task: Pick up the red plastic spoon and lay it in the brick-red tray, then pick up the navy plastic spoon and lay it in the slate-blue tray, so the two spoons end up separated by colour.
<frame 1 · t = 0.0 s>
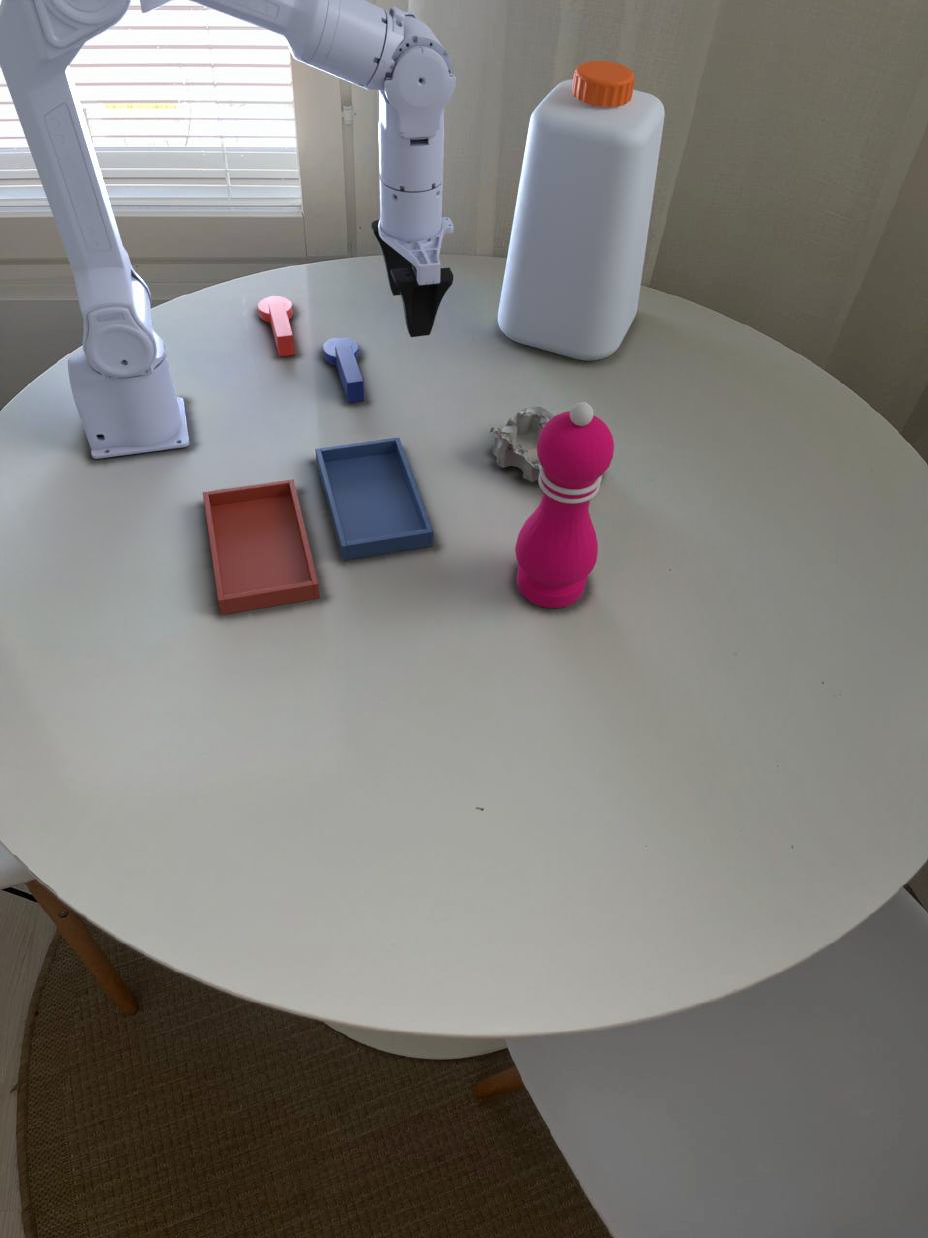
hand: (410, 313, 92), 10 cm above the table, tool pointing down, fingers open, 7 cm apart
red tray: (260, 550, 84), on the table
red spoon: (280, 331, 107), on the table
plastic bottle: (566, 324, 111), on the table
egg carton: (544, 464, 94), on the table
blue tray: (372, 503, 89), on the table
pepper mill: (550, 584, 83), on the table
blue spoon: (347, 375, 102), on the table
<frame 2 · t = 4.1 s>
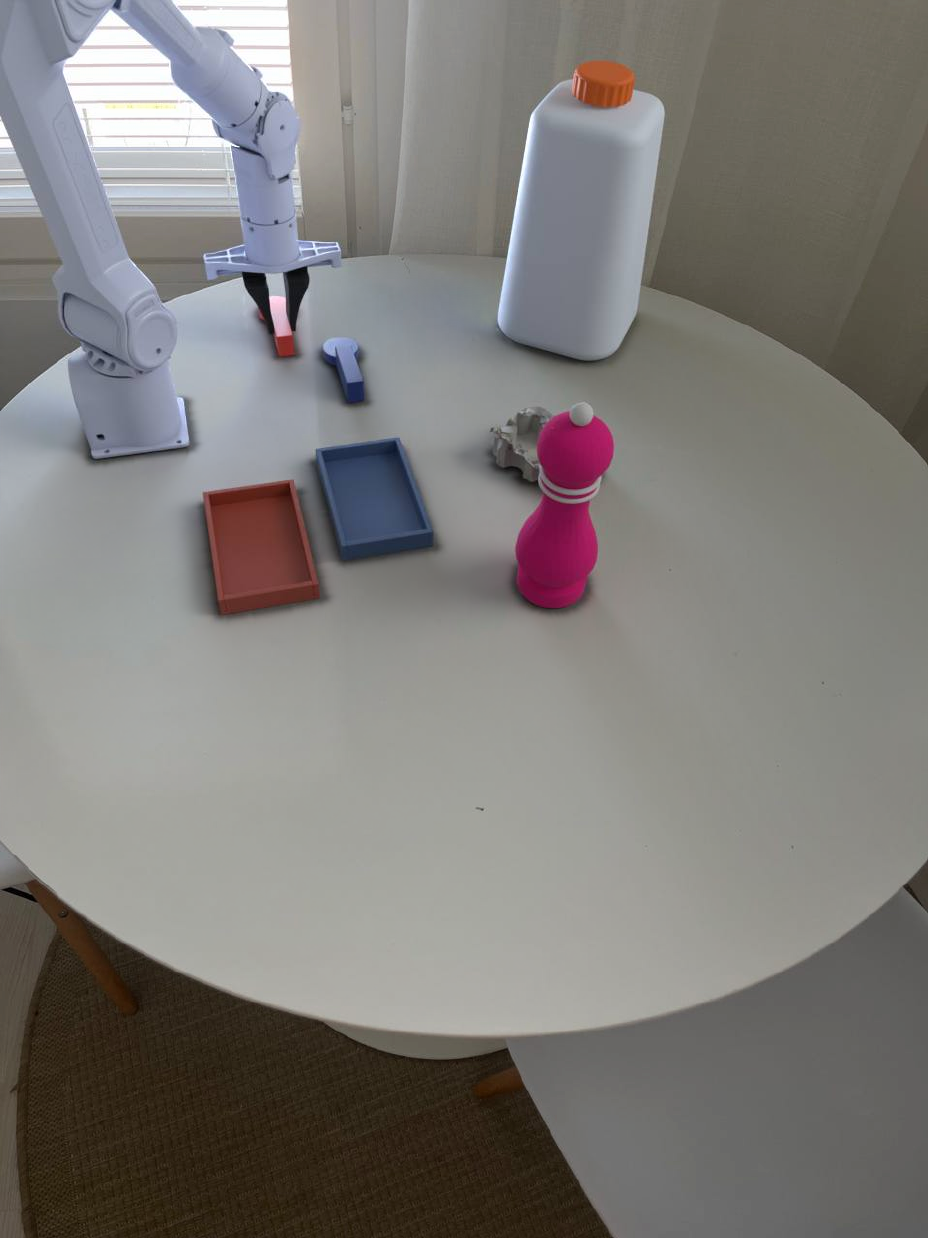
hand: (281, 327, 105), 1 cm above the table, tool pointing down, fingers closed on red spoon, 2 cm apart
red spoon: (280, 331, 107), on the table, touching gripper
everything else where it was.
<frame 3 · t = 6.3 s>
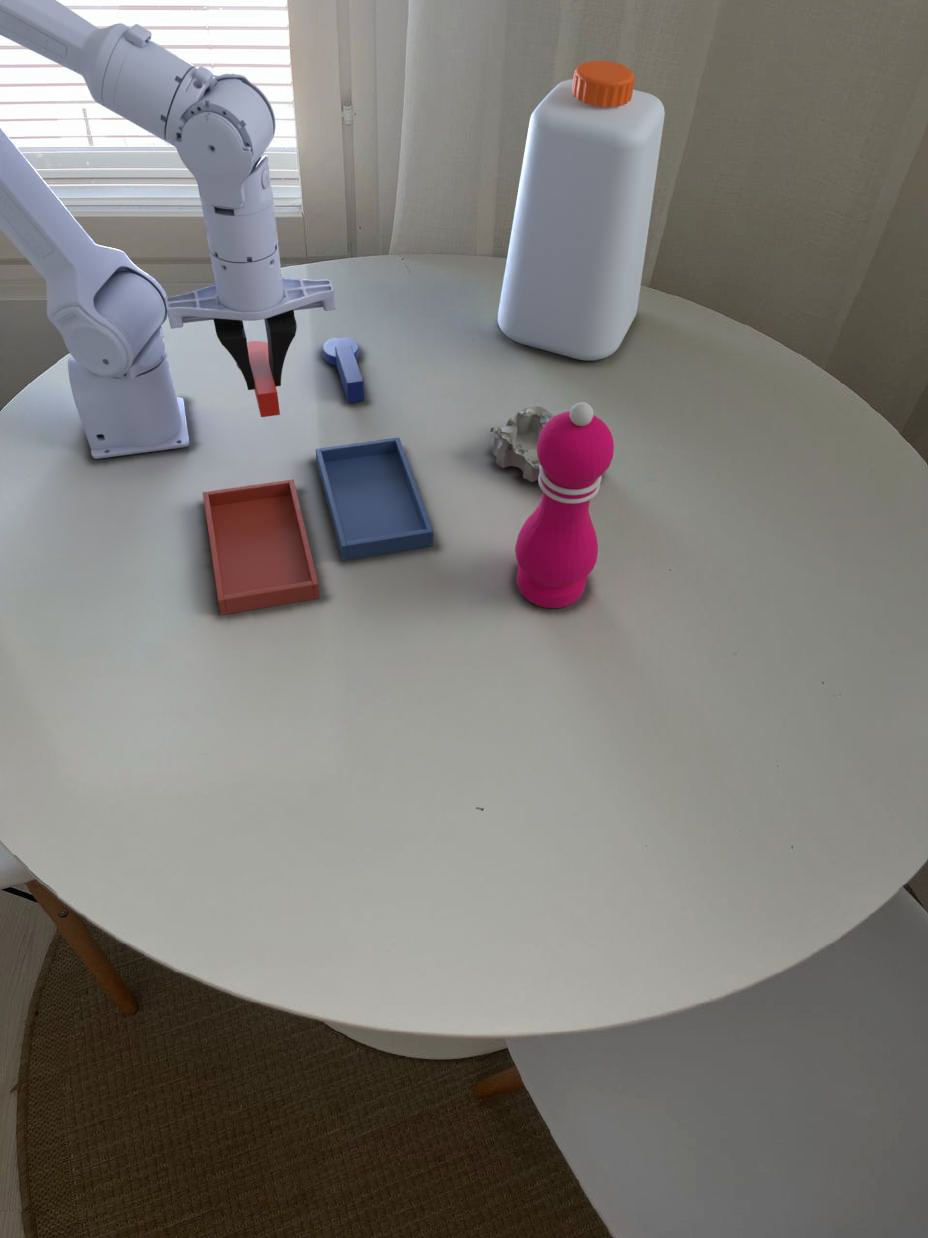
hand: (263, 381, 86), 8 cm above the table, tool pointing down, fingers closed on red spoon
red spoon: (262, 384, 88), point 7 cm above the table, touching gripper
everything else where it was.
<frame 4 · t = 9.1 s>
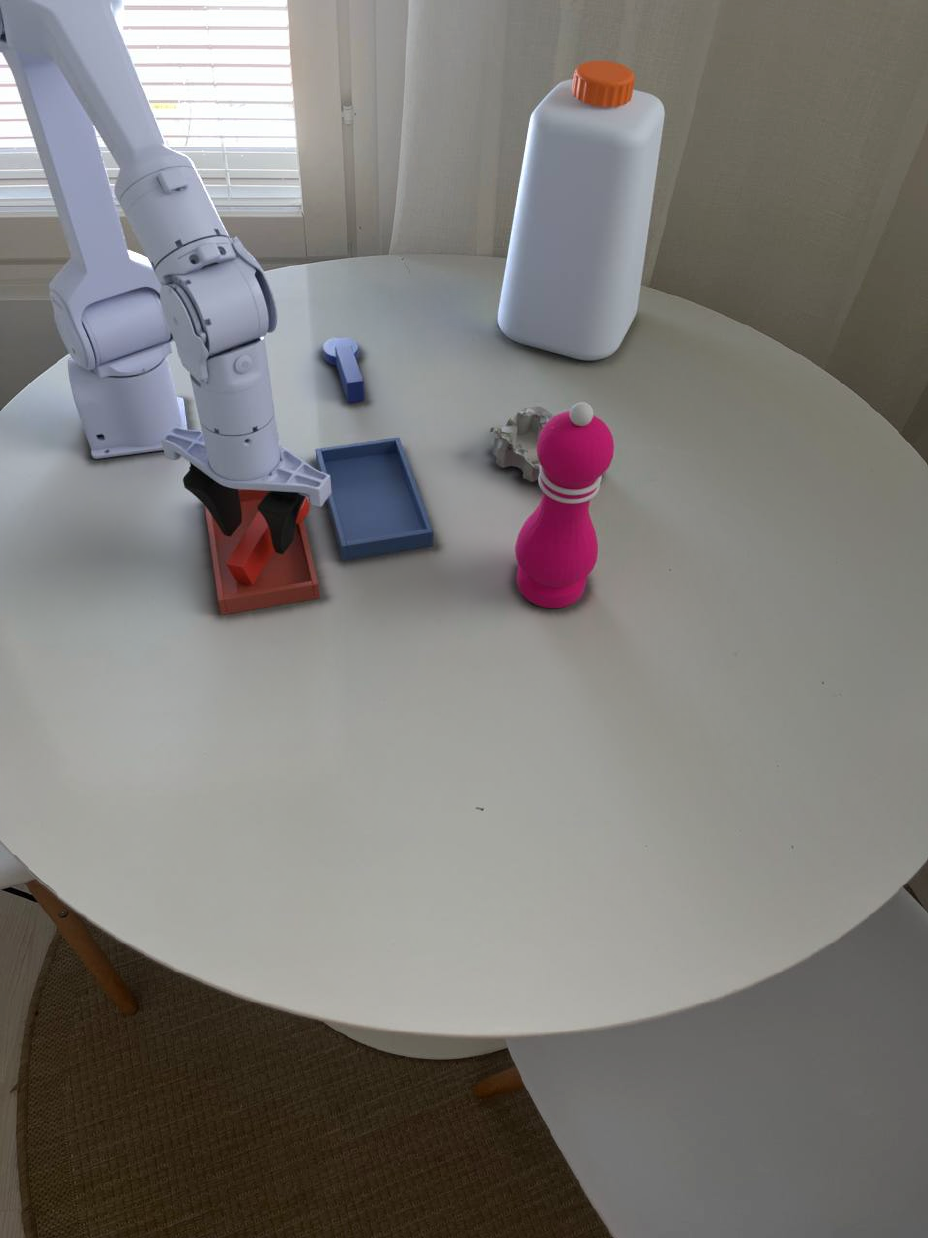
hand: (258, 537, 81), 3 cm above the table, tool pointing down, fingers open, 5 cm apart
red spoon: (270, 541, 83), point 1 cm above the table, tilted 13°, touching red tray
everything else where it was.
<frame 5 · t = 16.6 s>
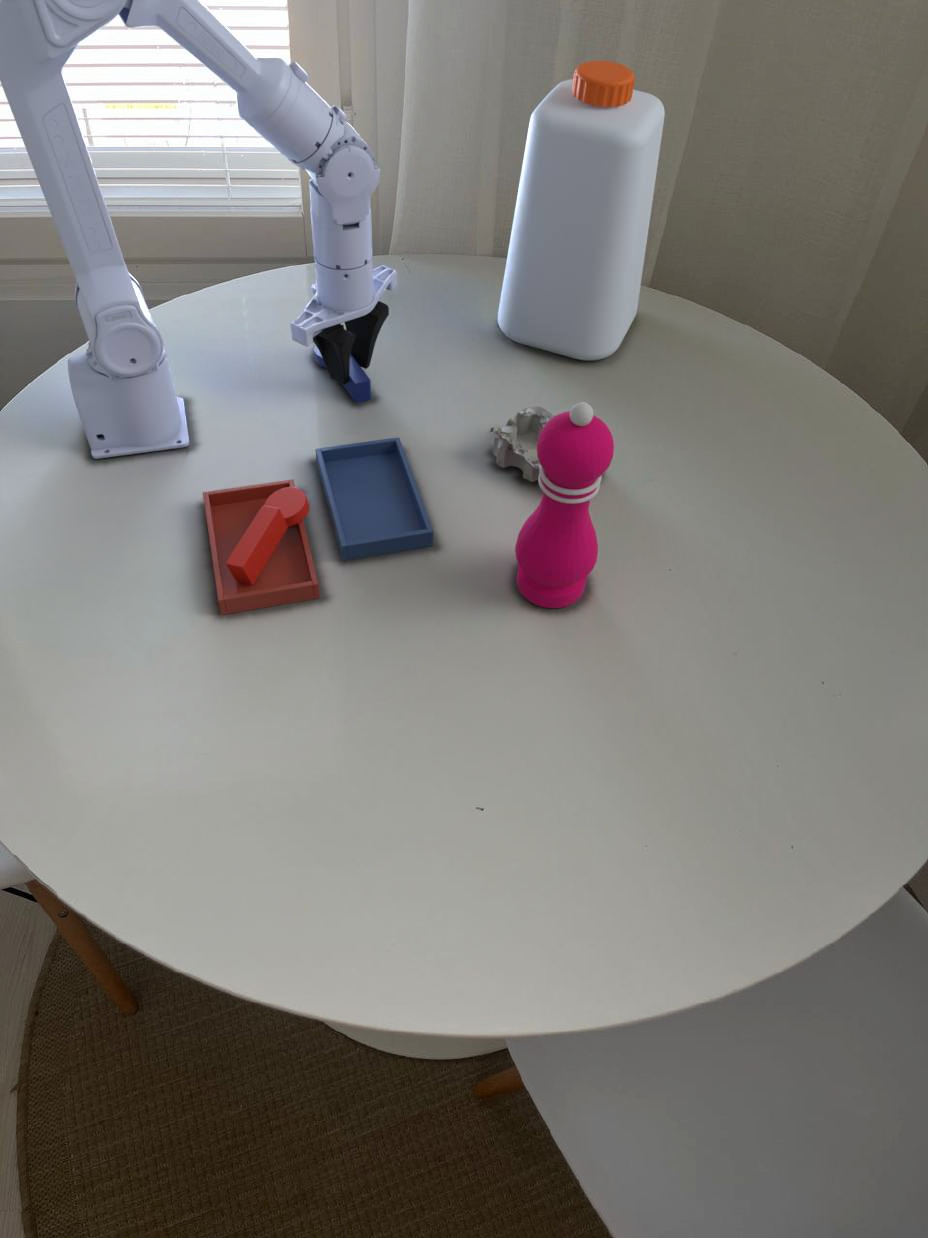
hand: (350, 371, 100), 1 cm above the table, tool pointing down, fingers closed on blue spoon, 3 cm apart
blue spoon: (345, 376, 102), on the table, touching gripper
everything else where it was.
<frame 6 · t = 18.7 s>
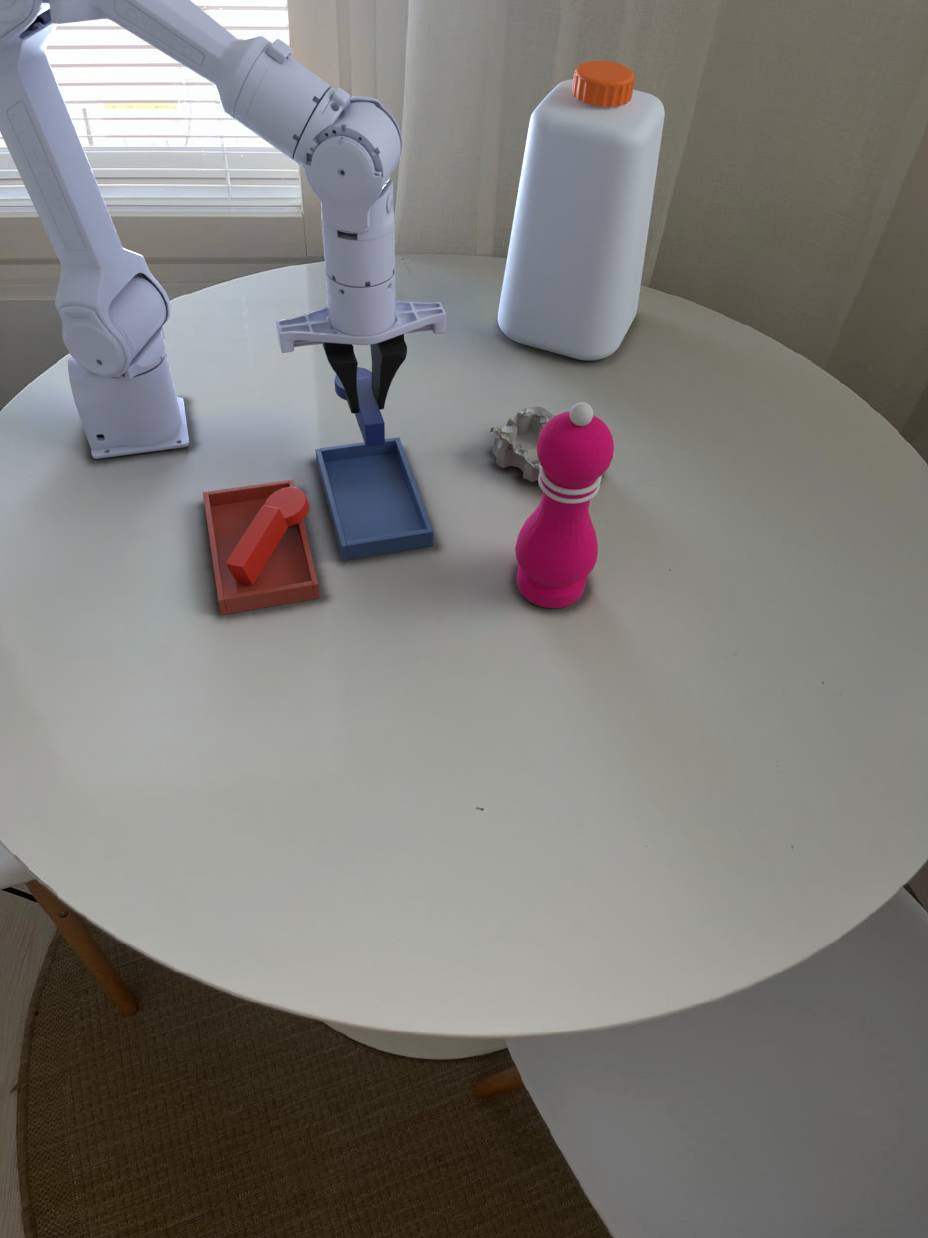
hand: (365, 404, 85), 8 cm above the table, tool pointing down, fingers closed on blue spoon
blue spoon: (363, 412, 87), point 7 cm above the table, touching gripper
everything else where it was.
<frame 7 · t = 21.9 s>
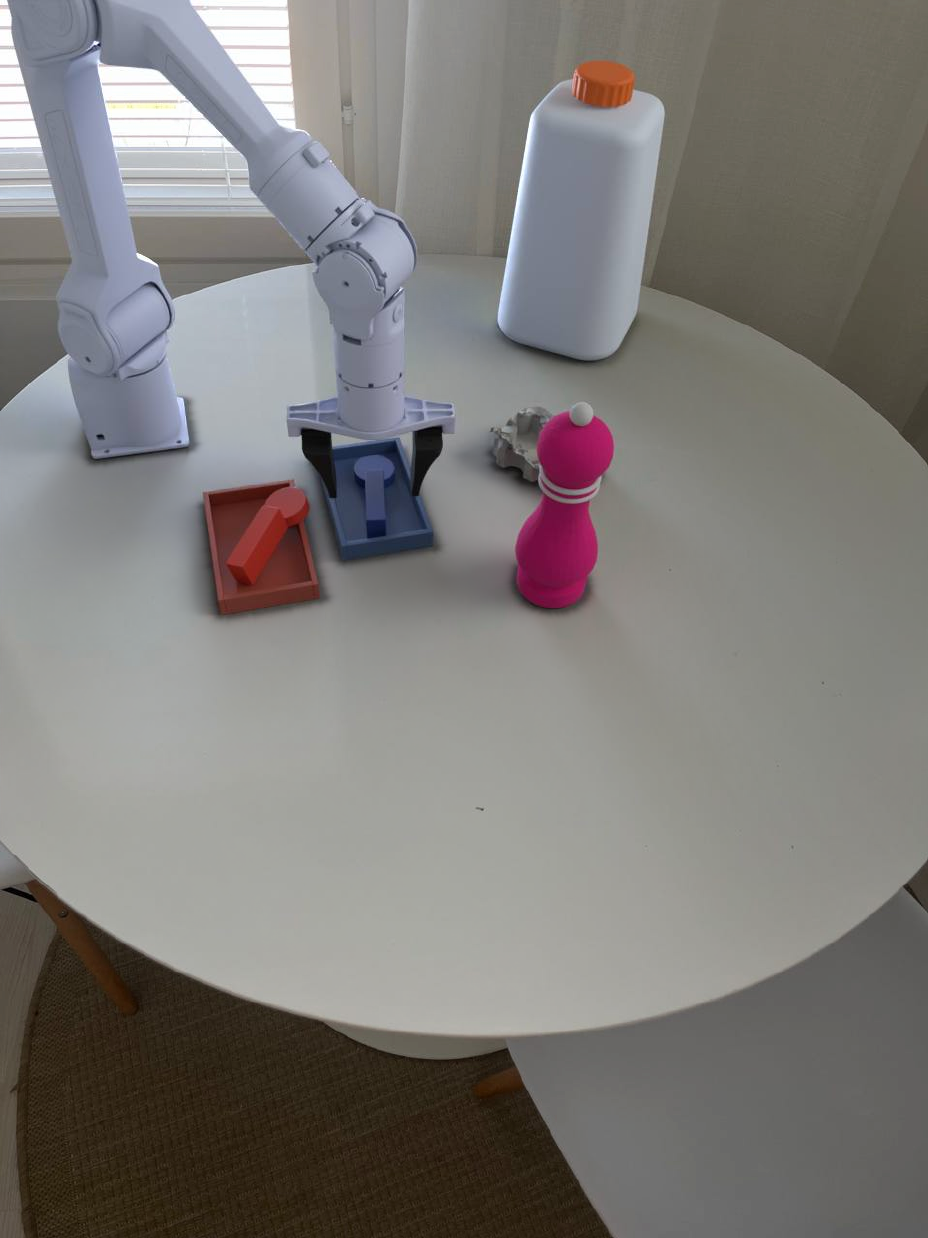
hand: (374, 490, 86), 3 cm above the table, tool pointing down, fingers open, 7 cm apart
blue spoon: (375, 503, 88), resting on blue tray
everything else where it was.
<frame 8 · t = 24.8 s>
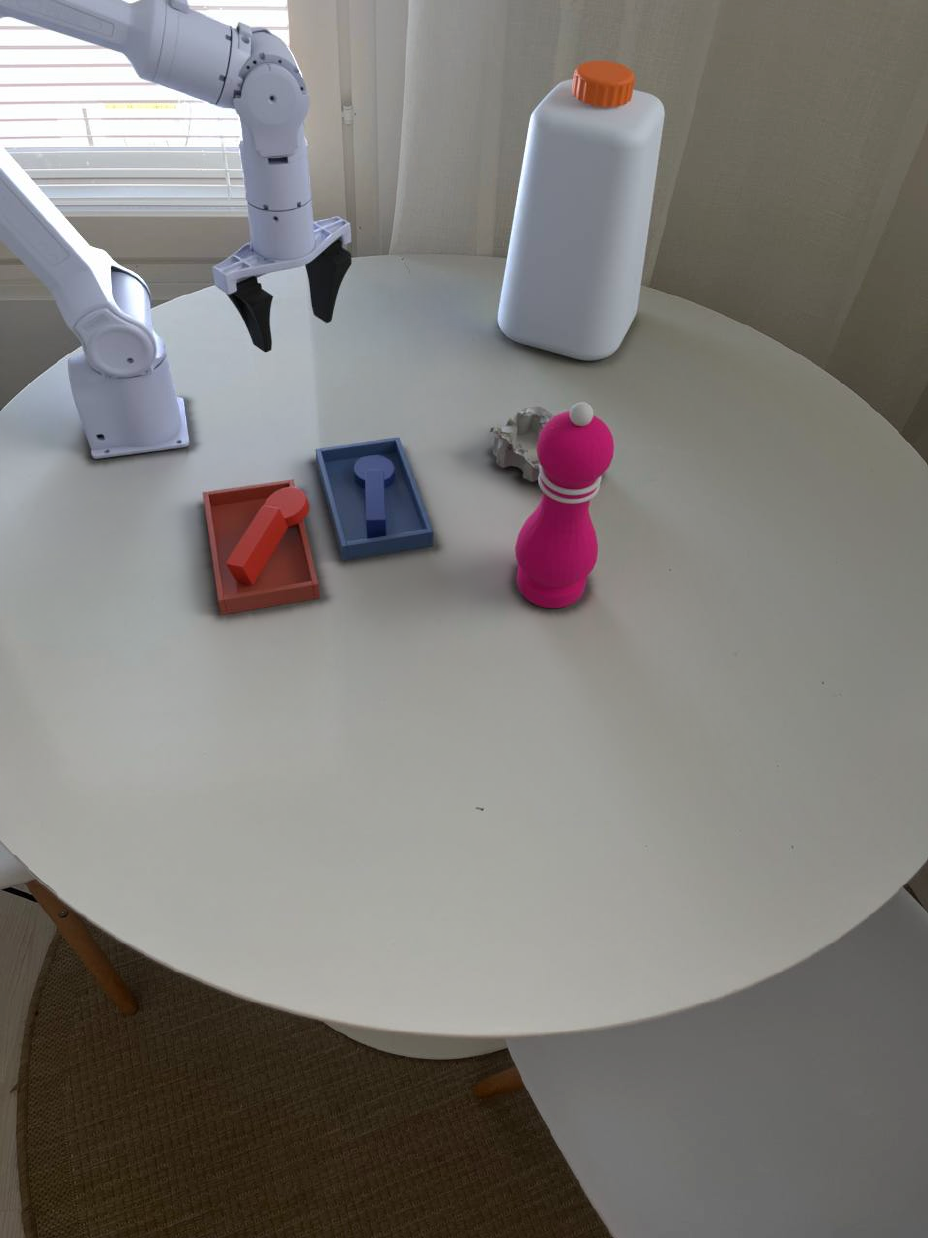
hand: (293, 332, 90), 9 cm above the table, tool pointing down, fingers open, 7 cm apart
nothing on the table moved.
at the end: red spoon inside the target area in the red tray (1.0 cm from its centre), point 1.2 cm above the red tray's base; blue spoon inside the target area in the blue tray (0.5 cm from its centre), point 0.4 cm above the blue tray's base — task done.
